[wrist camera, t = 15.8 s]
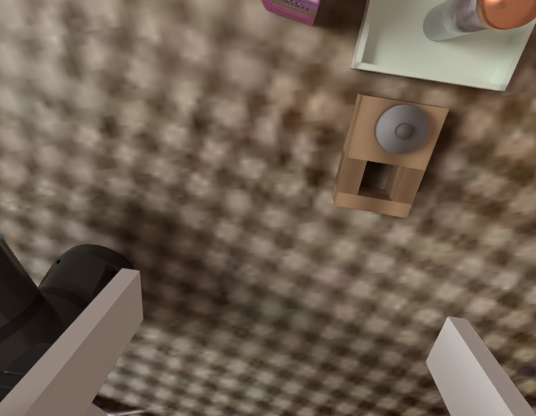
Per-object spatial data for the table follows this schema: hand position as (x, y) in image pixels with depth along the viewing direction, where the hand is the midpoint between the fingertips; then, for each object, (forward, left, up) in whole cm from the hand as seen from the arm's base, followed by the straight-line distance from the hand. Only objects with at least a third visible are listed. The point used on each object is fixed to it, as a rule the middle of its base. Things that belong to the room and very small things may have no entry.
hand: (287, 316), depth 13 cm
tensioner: (+10, +2, -29) cm, 30 cm away
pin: (+12, +17, -28) cm, 35 cm away
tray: (+12, +17, -29) cm, 35 cm away
